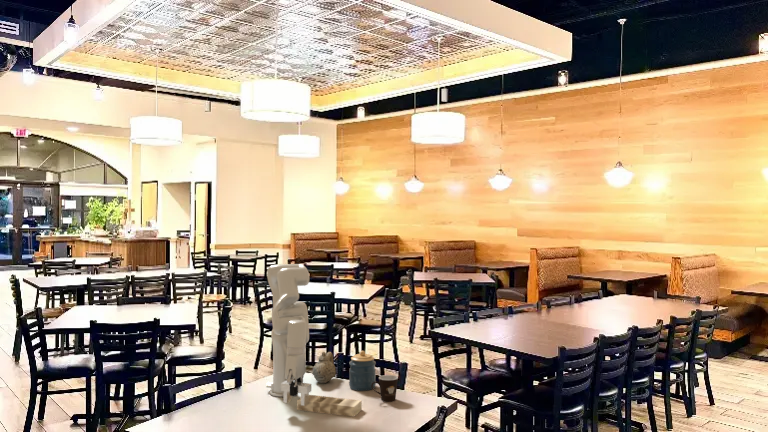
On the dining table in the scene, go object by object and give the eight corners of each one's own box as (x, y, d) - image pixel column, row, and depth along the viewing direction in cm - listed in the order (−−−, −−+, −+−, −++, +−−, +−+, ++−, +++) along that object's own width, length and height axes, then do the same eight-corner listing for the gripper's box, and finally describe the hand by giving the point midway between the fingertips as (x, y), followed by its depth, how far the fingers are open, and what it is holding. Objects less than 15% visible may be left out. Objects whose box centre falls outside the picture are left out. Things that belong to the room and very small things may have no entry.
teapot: (329, 388, 280) (329, 356, 280) (306, 386, 282) (306, 355, 282) (341, 376, 301) (341, 347, 301) (319, 375, 303) (319, 346, 303)
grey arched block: (280, 402, 242) (280, 383, 242) (285, 399, 246) (285, 380, 245) (306, 406, 238) (307, 386, 238) (311, 402, 242) (311, 383, 242)
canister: (360, 392, 272) (360, 355, 273) (343, 387, 282) (343, 350, 282) (381, 387, 281) (381, 351, 281) (364, 381, 291) (364, 346, 291)
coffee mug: (398, 397, 266) (398, 375, 266) (397, 403, 257) (397, 380, 258) (373, 396, 267) (373, 374, 267) (371, 402, 259) (371, 379, 259)
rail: (297, 409, 248) (297, 400, 248) (306, 403, 257) (306, 394, 257) (353, 416, 240) (353, 406, 240) (361, 409, 248) (361, 400, 248)
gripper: (297, 344, 250) (297, 386, 251) (278, 354, 234) (278, 399, 235) (313, 346, 248) (313, 388, 248) (295, 356, 232) (294, 401, 233)
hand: (296, 393), depth 242 cm, fingers closed on grey arched block, 4 cm apart
